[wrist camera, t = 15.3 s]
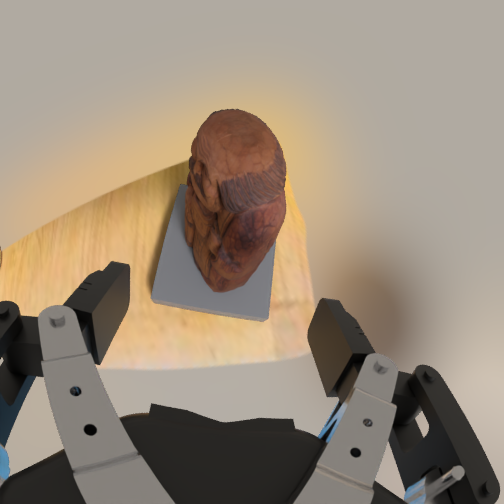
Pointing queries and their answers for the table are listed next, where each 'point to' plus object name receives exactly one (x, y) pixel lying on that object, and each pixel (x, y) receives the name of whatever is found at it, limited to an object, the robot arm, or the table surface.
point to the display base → (193, 285)
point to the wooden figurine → (233, 197)
